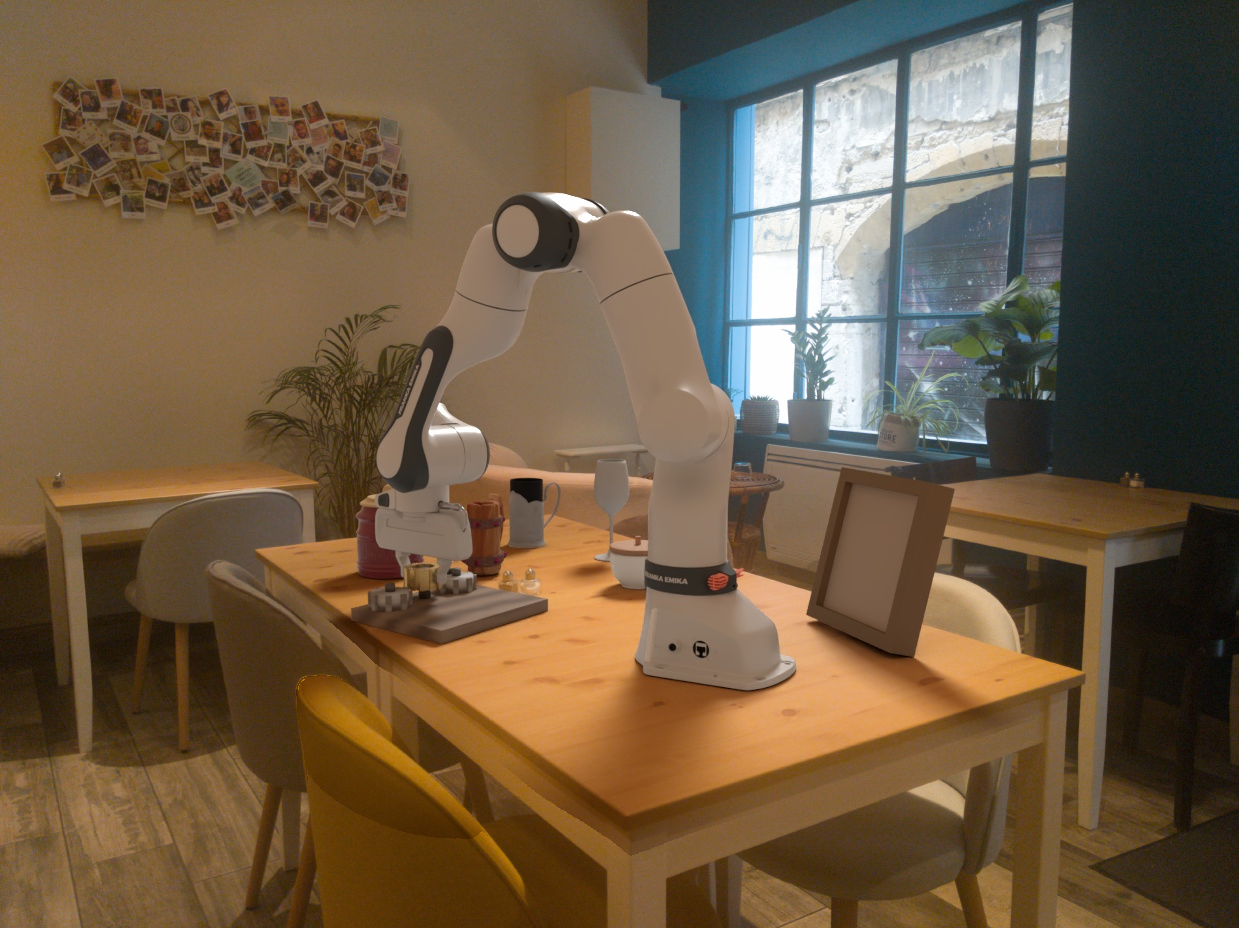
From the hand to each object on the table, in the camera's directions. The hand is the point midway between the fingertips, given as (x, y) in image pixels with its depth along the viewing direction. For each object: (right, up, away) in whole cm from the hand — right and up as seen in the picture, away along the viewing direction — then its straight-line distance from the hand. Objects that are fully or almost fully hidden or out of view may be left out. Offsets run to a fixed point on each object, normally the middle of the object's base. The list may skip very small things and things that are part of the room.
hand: (423, 580), depth 159 cm
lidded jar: (+36, -4, +19) cm, 41 cm away
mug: (+7, -2, +30) cm, 31 cm away
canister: (-12, -2, +28) cm, 31 cm away
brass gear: (0, -1, 0) cm, 1 cm away
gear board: (+5, -5, -3) cm, 8 cm away
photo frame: (+74, -7, -13) cm, 75 cm away
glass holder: (+14, +1, +60) cm, 61 cm away
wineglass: (+31, -1, +43) cm, 53 cm away
